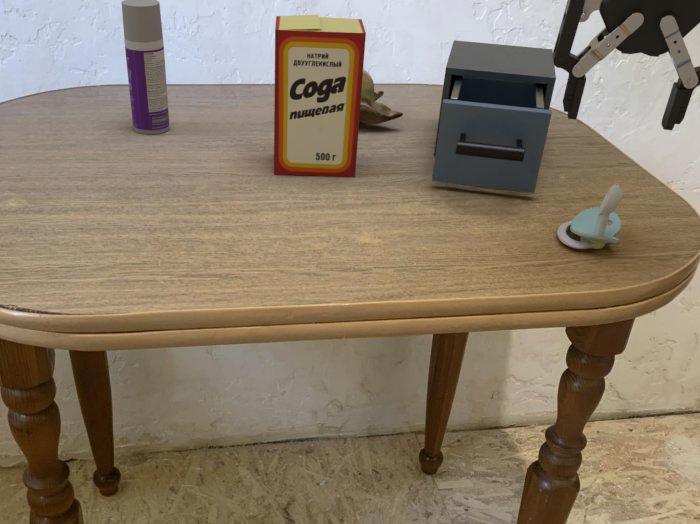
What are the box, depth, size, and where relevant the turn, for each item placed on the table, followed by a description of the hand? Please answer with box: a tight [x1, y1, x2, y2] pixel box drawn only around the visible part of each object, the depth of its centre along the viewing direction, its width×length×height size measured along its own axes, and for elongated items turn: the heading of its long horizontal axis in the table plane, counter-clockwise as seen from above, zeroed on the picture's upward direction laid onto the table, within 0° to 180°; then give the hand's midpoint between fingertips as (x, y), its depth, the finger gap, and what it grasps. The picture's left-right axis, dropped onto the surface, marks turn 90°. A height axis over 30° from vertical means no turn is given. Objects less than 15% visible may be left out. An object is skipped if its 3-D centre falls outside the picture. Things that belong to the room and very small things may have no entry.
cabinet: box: [433, 39, 557, 157], centre depth 98 cm, size 14×13×11 cm
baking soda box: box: [273, 14, 367, 178], centre depth 88 cm, size 10×6×16 cm
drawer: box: [431, 75, 553, 194], centre depth 87 cm, size 17×11×9 cm
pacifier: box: [556, 183, 624, 250], centre depth 77 cm, size 7×6×6 cm
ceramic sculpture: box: [359, 68, 404, 125], centre depth 103 cm, size 11×9×15 cm
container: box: [121, 0, 170, 135], centre depth 96 cm, size 5×5×15 cm
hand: (618, 122), depth 71 cm, fingers open, 8 cm apart
